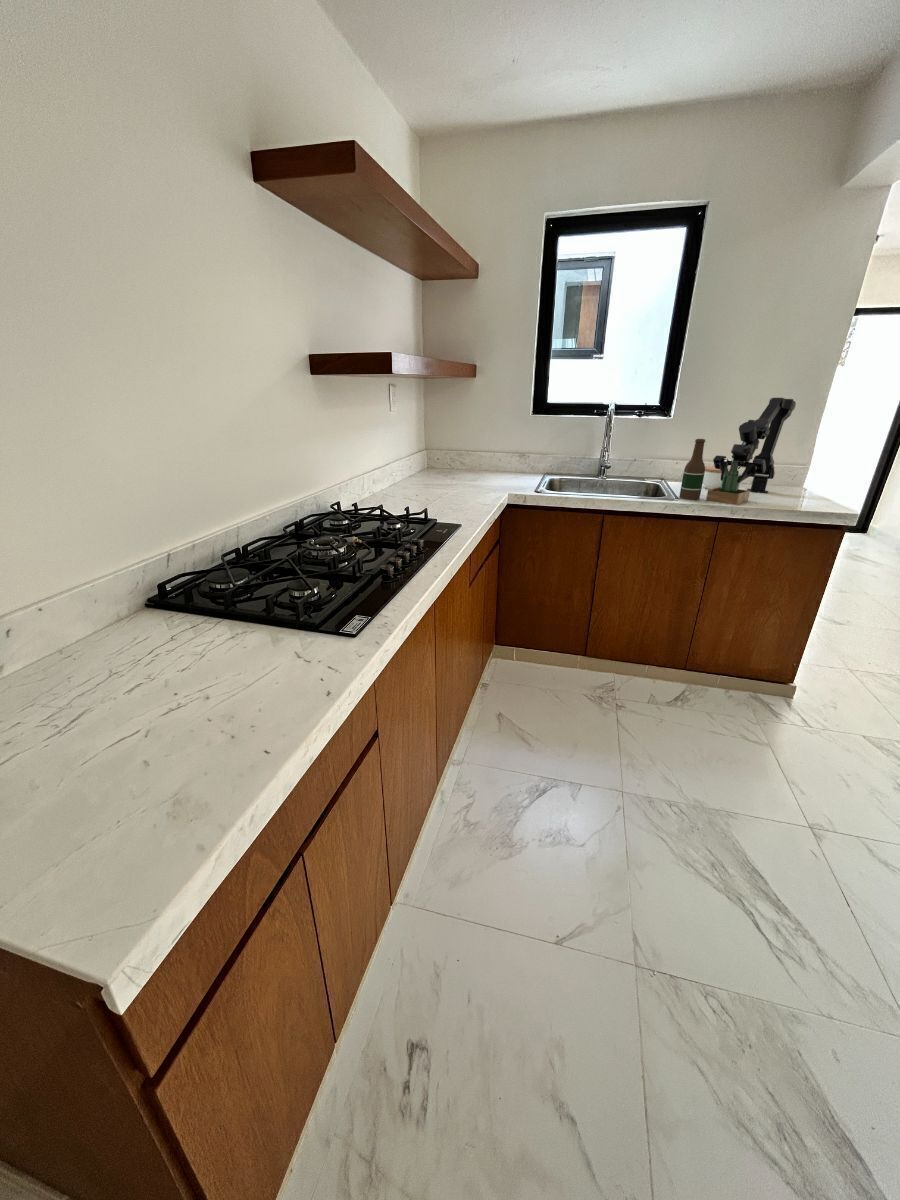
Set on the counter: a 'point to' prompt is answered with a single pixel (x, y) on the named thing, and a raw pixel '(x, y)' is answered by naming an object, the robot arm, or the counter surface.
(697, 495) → the beer bottle
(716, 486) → the lidded bowl
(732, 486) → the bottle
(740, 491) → the wooden tray
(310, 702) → the counter surface
